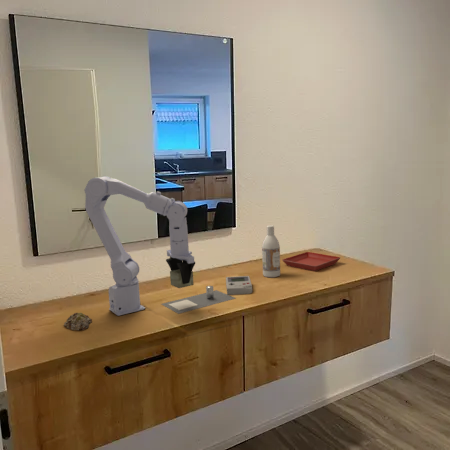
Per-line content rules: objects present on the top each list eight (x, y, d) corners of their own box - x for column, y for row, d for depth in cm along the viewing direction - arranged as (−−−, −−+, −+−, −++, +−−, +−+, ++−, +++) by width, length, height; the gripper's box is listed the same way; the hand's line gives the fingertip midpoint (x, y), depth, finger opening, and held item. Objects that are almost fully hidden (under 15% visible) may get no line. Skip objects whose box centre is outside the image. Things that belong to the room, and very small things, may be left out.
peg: (209, 299, 152) (208, 288, 151) (205, 298, 154) (204, 286, 153) (215, 298, 153) (214, 286, 153) (211, 296, 155) (210, 285, 155)
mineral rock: (59, 316, 140) (84, 304, 143) (64, 328, 141) (89, 316, 144) (65, 328, 130) (92, 315, 134) (71, 341, 132) (97, 328, 135)
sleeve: (178, 288, 143) (177, 274, 142) (170, 284, 148) (169, 271, 147) (193, 284, 146) (192, 271, 145) (185, 281, 151) (184, 268, 150)
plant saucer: (315, 273, 183) (315, 265, 182) (281, 266, 196) (281, 259, 195) (341, 264, 195) (341, 257, 194) (307, 258, 208) (307, 251, 207)
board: (178, 316, 140) (178, 313, 140) (161, 306, 150) (160, 303, 150) (236, 301, 153) (236, 297, 152) (216, 292, 162) (216, 289, 162)
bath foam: (270, 278, 177) (269, 228, 174) (259, 275, 182) (257, 226, 179) (284, 275, 181) (282, 225, 178) (272, 272, 186) (270, 223, 183)
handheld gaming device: (227, 298, 157) (226, 288, 156) (225, 285, 171) (225, 276, 171) (252, 297, 157) (252, 287, 156) (249, 285, 172) (249, 275, 171)
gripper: (201, 241, 141) (204, 283, 143) (179, 235, 153) (181, 274, 155) (181, 244, 137) (184, 288, 139) (160, 238, 149) (162, 278, 151)
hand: (181, 281), depth 147 cm, fingers closed on sleeve, 5 cm apart
